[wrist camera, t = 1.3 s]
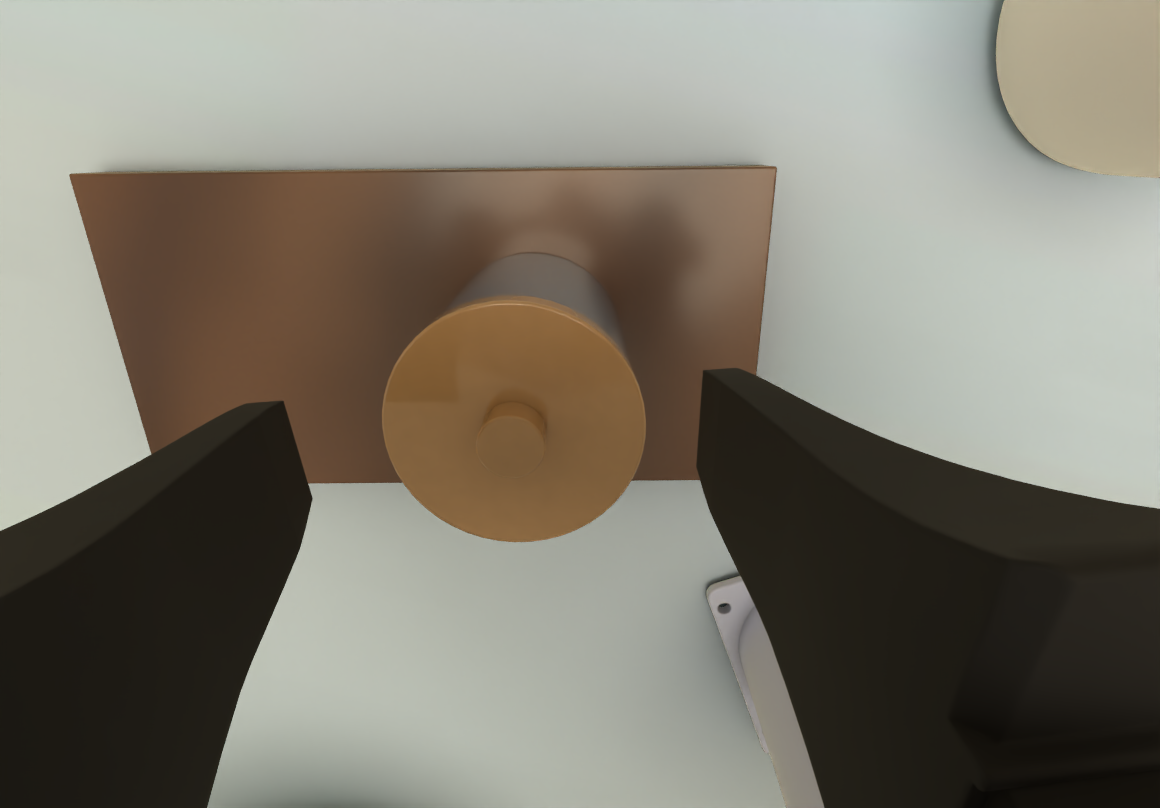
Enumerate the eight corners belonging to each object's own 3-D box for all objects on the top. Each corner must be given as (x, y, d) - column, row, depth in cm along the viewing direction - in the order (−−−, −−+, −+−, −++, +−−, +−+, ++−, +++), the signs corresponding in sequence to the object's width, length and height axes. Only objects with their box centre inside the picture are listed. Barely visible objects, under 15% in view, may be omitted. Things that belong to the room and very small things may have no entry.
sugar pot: (648, 389, 20) (685, 519, 13) (488, 445, 21) (442, 595, 14) (588, 220, 18) (593, 265, 11) (413, 288, 19) (317, 370, 12)
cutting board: (763, 164, 19) (777, 166, 18) (735, 460, 23) (745, 480, 22) (104, 172, 19) (67, 173, 18) (185, 465, 23) (159, 485, 22)
